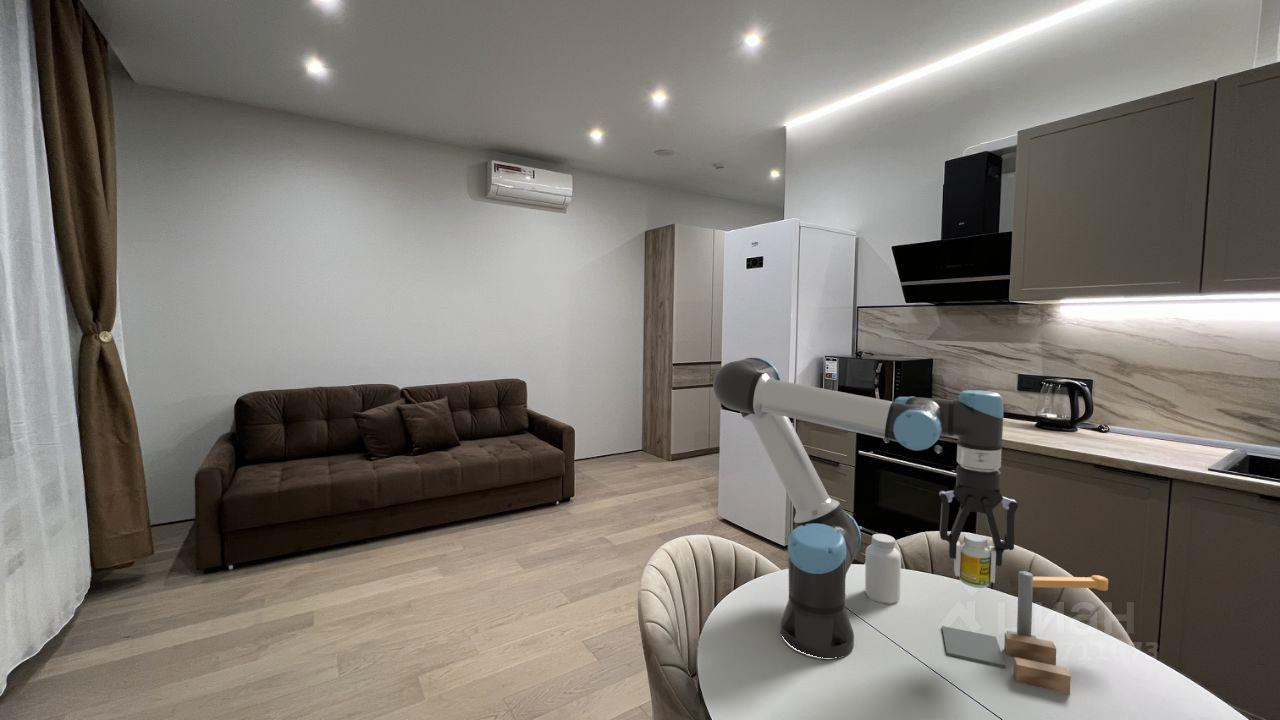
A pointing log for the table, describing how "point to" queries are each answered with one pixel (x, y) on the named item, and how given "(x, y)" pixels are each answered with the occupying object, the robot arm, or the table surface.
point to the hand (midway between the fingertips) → (973, 576)
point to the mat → (972, 646)
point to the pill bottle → (883, 569)
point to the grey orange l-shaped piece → (1029, 582)
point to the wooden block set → (1036, 663)
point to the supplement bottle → (975, 561)
